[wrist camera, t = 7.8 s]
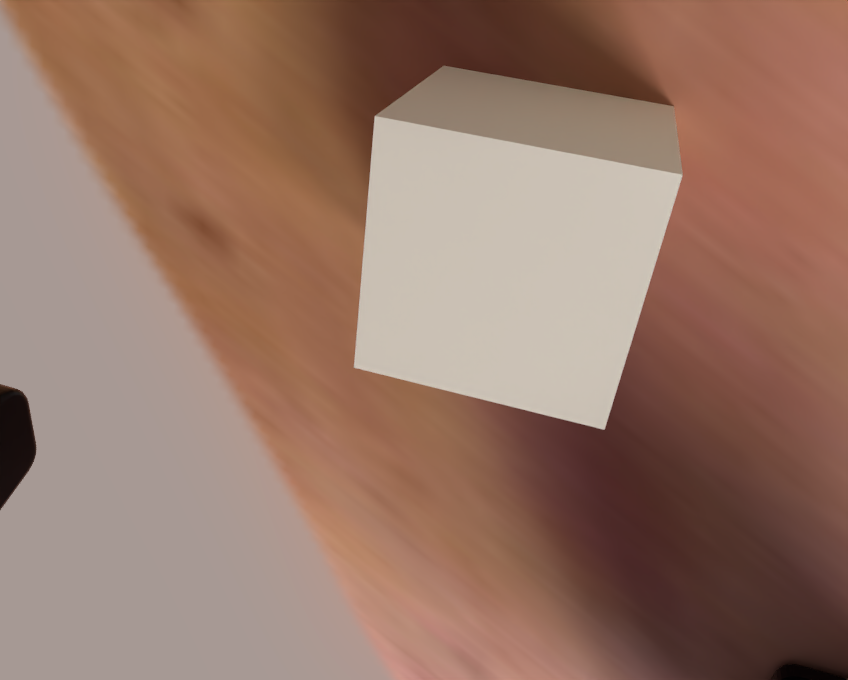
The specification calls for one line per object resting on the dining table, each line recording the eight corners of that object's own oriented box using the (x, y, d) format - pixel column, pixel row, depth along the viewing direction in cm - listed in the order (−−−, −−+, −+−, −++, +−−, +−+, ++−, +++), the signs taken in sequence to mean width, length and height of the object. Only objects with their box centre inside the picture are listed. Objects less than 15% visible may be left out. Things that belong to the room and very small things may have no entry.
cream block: (615, 311, 18) (604, 429, 14) (418, 268, 19) (353, 367, 15) (673, 105, 16) (682, 174, 12) (444, 65, 17) (374, 116, 12)
